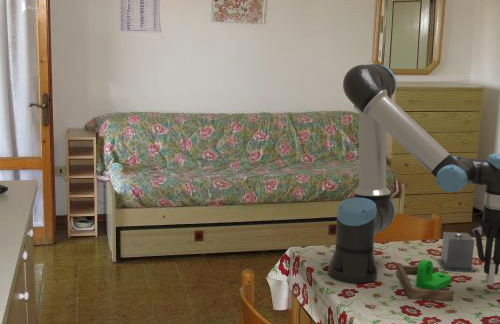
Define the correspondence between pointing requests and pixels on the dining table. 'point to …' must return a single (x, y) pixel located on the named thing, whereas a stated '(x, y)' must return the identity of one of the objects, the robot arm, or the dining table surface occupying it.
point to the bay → (420, 293)
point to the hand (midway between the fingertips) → (489, 283)
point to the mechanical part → (430, 277)
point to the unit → (457, 252)
